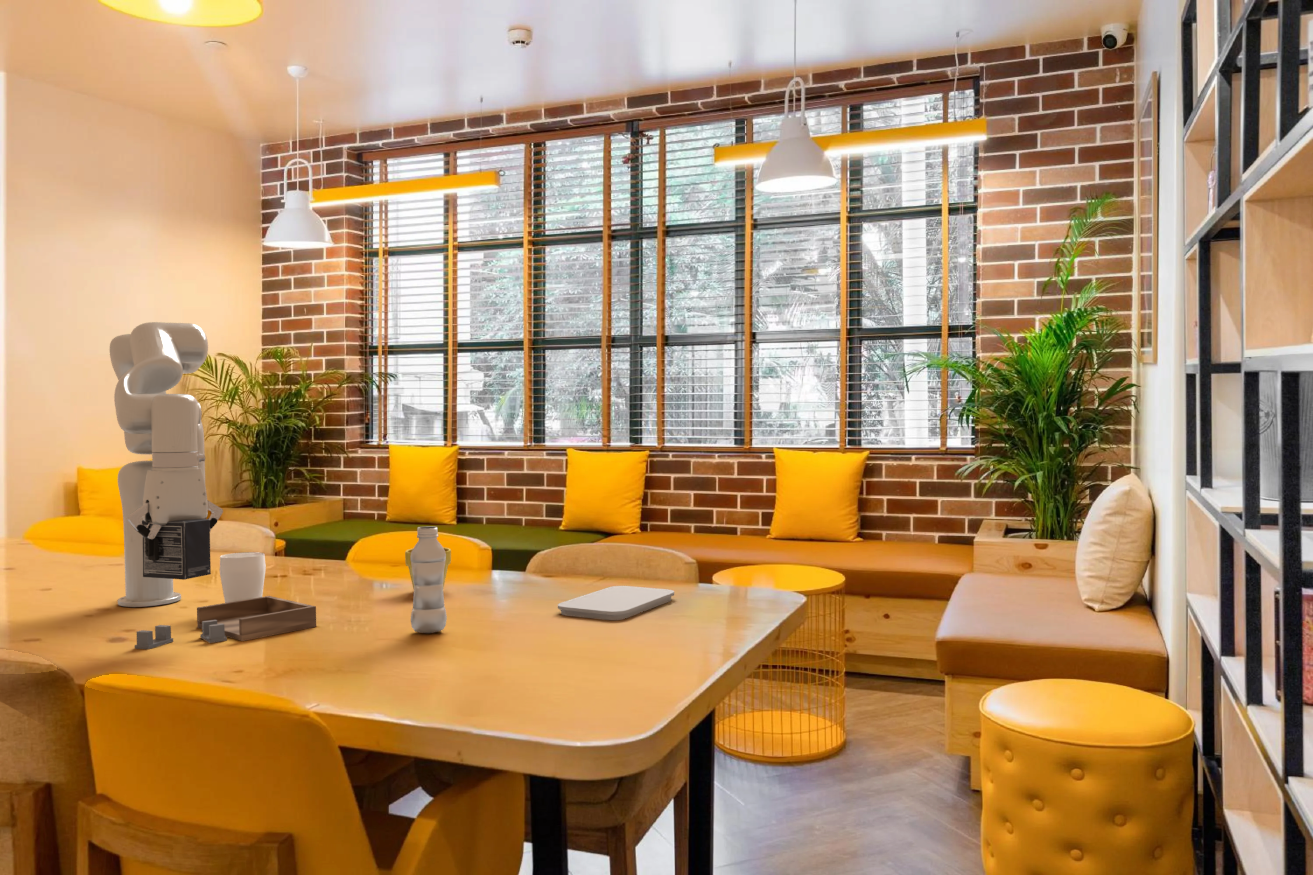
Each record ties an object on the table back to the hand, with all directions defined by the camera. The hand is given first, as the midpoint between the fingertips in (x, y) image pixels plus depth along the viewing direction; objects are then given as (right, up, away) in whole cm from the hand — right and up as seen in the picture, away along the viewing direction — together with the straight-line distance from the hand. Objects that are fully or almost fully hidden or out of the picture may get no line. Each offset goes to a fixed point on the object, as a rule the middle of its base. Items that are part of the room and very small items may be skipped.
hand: (177, 556), depth 180 cm
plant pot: (+35, -14, +49) cm, 61 cm away
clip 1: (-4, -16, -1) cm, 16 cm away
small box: (0, -4, 0) cm, 4 cm away
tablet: (+80, -15, +29) cm, 86 cm away
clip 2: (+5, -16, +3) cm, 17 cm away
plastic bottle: (+45, -15, +6) cm, 48 cm away
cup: (0, -15, +28) cm, 32 cm away
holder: (+9, -15, +12) cm, 22 cm away
